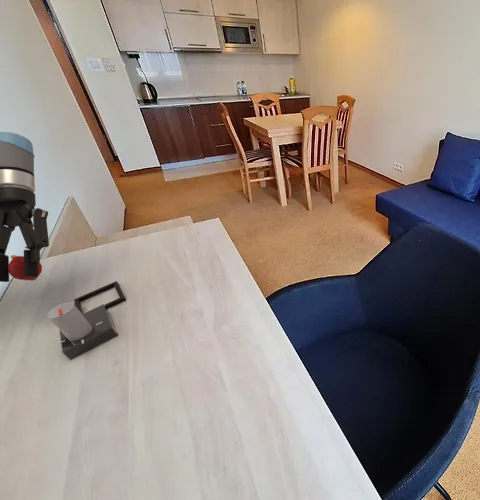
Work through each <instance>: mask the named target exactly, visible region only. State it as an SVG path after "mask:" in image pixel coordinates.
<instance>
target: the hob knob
mask: <svg viewBox="0 0 480 500" xmlns="http://www.w3.org/2000/svg"><path fill="white" fill-rule="evenodd" d="M46 317H47V318H48V319H49V321H51V323H52V324H53V325H54V326H55V327H56V328H57V329H58V331H59V330H60V331H61V332H62V333H63V334H64V335H65V336H66V337H67V338H68V339H69V340H70V341H76V340H79V339H81V338H83V337H85V336H87V335H88V334H89V333H90V332H91V331H92V329H93V326H92V325H91V324H90V323H89V321H88V320H87V319H86V318H85V317H84V316H83V314H82V313H81V312H80V311H79V310H78V308H77V307H76V306H75V303H74V302H71V301H67V302H64V303H63V302H62V303H60V304H58V305H56V306H54V307H53V308H51V310H49V311H48V312H47V313H46ZM60 331H59V332H60Z"/></svg>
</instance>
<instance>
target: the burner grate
mask: <svg viewBox="0 0 480 500" xmlns="http://www.w3.org/2000/svg"><path fill="white" fill-rule="evenodd" d="M113 288H115V290H116V293H117V296H118V298H116V299H114V300H112V301H110V302H107V303H105V304H104V305H105V307H106V308H107V309H108V310H109V309H111V308H114V307H115V306H117V305H119V304H122V303H124V302H126V301H127V300H126V296H125V294H124V293H123V290H122V288H121V286H120V284H119V282H118V281H117V280H116V281H115V280H114V281H113V282H111V283H109V284H106V285H103V286H102V287H100V288H96V289H95V290H92V291H90V292H88V293H85V294H83V295H81V296H79V297H76V298H74V299H73V301H74V302H73V303H74V305H75V306H76V307H77V308H78V310H79V311H80V312H81V313H82V314H83V313H84V309H83V306H82V302H84V301H87V300H89V299H91V298H93V297H96V296H98V295H100V294H102V293H104V292H107V291H109V290H112V289H113Z"/></svg>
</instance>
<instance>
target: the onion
mask: <svg viewBox="0 0 480 500" xmlns="http://www.w3.org/2000/svg"><path fill="white" fill-rule="evenodd" d="M10 258H11V260H9V265H8V271H9V276H11V277H13V279H16V280H22V281H32V282H33V281H36V280H37V279H38V278H39V276H41V274H42V271H43V267H42V266H43V265H42V264H41V261H40V262H39V263H37V267H38V276H37V277H30V276H25V275H24V255H15V254H12V255H10Z"/></svg>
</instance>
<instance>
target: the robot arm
mask: <svg viewBox="0 0 480 500" xmlns="http://www.w3.org/2000/svg"><path fill="white" fill-rule="evenodd" d="M35 192H36V185H35V153H34V147H33V143H32V141H31V140H30V139H28V138H27V137H26V136H24V135H21V134H19V133H15V132H10V131H0V283H9V282H10V273H9V271H8V265H9V263H10V257H9V255H7V254H6V252H7V249H8V245H9V243H10V239H11V236H12V233H13V232H14V231H15V229H16V227H18V228H19V230H20V232H21V235H22V237H23V240H24V243H25V245H26V246H24V248H25V249H23V256H24V275H25V276H30V277H37V276H38V267H37V263H39V262H40V263H41V250H43V249H44V248H48V247H49V246H50V240H49V239H50V238H49V232H48V221H47V219H48V215H49V211H48V210H45V209H42V208H39V207H37V208H35V207H36V204H37V203H36V202H37V201H36V194H35ZM38 277H39V276H38ZM38 277H37V278H38Z"/></svg>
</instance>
